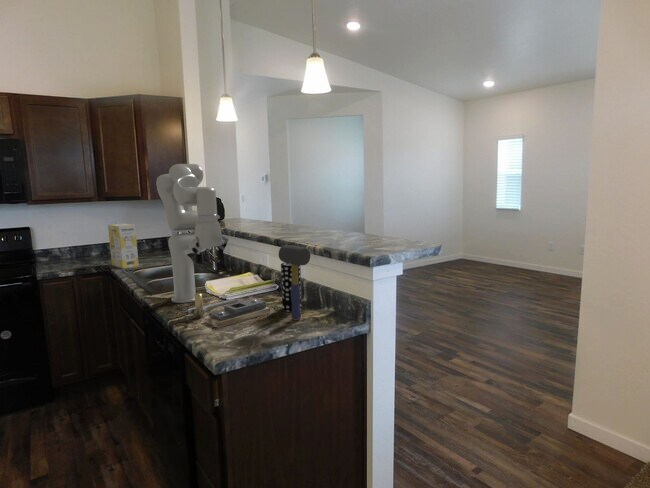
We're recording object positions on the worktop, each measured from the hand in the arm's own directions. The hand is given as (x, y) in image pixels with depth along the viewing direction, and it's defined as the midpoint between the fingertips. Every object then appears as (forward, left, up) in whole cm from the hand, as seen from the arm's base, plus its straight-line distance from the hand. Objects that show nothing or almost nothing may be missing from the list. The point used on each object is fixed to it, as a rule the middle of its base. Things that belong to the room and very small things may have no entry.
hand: (210, 261), depth 170 cm
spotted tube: (+14, +30, -24) cm, 41 cm away
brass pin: (-6, -3, -24) cm, 25 cm away
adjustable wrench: (-14, +9, -24) cm, 29 cm away
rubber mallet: (+26, +22, -24) cm, 42 cm away
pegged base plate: (+6, +8, -22) cm, 24 cm away
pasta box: (-148, +19, -24) cm, 151 cm away
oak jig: (+6, +8, -24) cm, 26 cm away
